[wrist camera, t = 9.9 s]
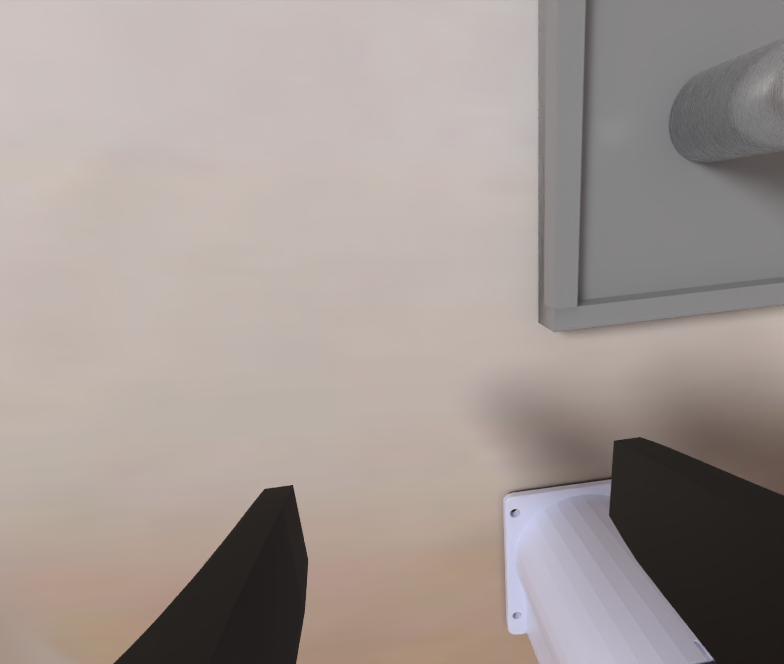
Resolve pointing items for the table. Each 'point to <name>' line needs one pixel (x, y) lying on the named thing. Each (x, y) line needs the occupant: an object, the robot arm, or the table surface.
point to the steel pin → (732, 108)
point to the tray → (648, 167)
